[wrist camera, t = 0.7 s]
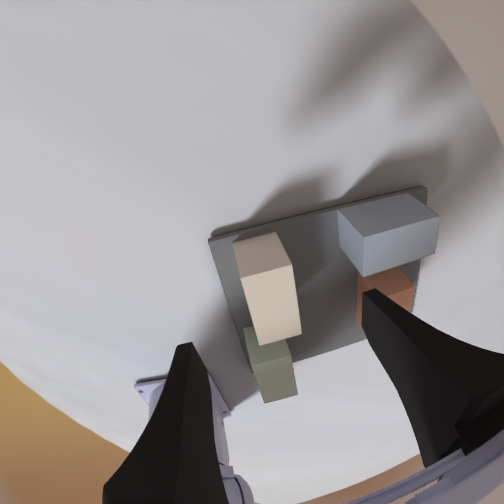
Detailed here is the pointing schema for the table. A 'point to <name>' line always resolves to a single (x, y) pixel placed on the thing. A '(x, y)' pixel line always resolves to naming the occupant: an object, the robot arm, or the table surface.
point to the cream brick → (268, 287)
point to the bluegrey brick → (387, 232)
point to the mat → (308, 278)
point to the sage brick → (271, 367)
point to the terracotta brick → (386, 288)
